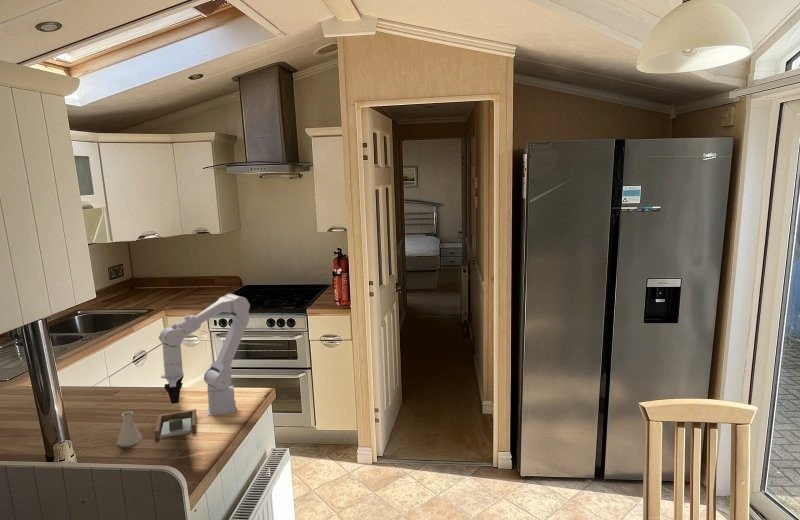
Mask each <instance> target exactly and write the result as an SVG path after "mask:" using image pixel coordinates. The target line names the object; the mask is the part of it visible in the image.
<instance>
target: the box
mask: <svg viewBox="0 0 800 520" xmlns="http://www.w3.org/2000/svg"><path fill="white" fill-rule="evenodd" d="M197 416H198V415H197V408H195V409H189V410H182V411H175V412H168V413H162V414H158V415H157V419H156V423H155V428H154V438H155V439H154V440H160V439H161V440H162V439H167V438H173V437H178V436H180V437H181V436H184V435H190V434H196V433H197V418H198V417H197ZM179 418H182V419H186V418H191V433H187V434H181V435H175V436H169V437H163V438H161V432H162V427H163V422H167V421H169V420H173V419H179Z"/></svg>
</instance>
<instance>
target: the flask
mask: <svg viewBox="0 0 800 520" xmlns="http://www.w3.org/2000/svg"><path fill="white" fill-rule="evenodd" d="M133 414H134V412H133V411H125V412H122V414H121V417H122V425H121V429H120V432H119V436H118V438H117V442H116V443H115V445H117V446H119V447H123V448H124V447H132V446H134V445H136V444H138V443H140V442H141V441H142V439H143V437H142V435H141V433H140V431H139V429H138V428H137V426H136V424H135V421H134V419H133Z"/></svg>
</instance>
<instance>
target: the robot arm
mask: <svg viewBox="0 0 800 520" xmlns="http://www.w3.org/2000/svg"><path fill="white" fill-rule="evenodd" d="M250 307H251V304H250V302H249V300H248V299H247V298H246V297H244V296H240V295H236V294H235V293H227V294H225V295H223V296H220V297H219V298H218V299H217V301H215V302H214V303H212V304H211V305H209V306H208V307H207V308H205V309H203V310H202V311H200V312H199V313H197V314H196V315H194V314H190V315H185V316H184V317H183V319H182V320H180V321H178V322H177V323H172V324H171V327H170V326H169V327H168V326H166V327H165V328H162V330H161V332H160V334H159V336H158V339H159V341H160V342H161V344H162V356H163V357H162V358H163V368H164V371H163V372H164V374H161V375H160V378H161V379H165V380H166V382H168V383H165V384H164V389H165V391H166V392H167V393H168V396H169V399H170V403H171V404H173V405H174V404H179V401H180V395H181V389H182V387H183V382H182V381H183V378H184V374H185V373H184V372H183V357H182V355H183V354H182V346H181V344H182V343H183V341H184V339H186V338H187V337H188V336H190V335H192V334H193V333H195V332H197V330H199V329H201V326H202V323H205V322H206V321H208V320H210V319H211V318H213V317H215V316H216V315H219V314H221V313H228V314H229V316H230V318H231V320H232V322H231V323H230V327H229V329H228V332H227V334H226V336H225V338H224V342H223V344H222V346H221V348H220V350H219V353H218V356H217V358H216V360H215V361H214V362H212V363H210V366H209V367H208V369H207V370H206V371H205V372H204V375H203V380H204V382H205V384H207V401H208V402H207V403H208V406H207V416H208V417H211V416H216V415H222V414H223V415H224V414H229V413H230V414H231V413H235V412H236V400H235V389H234V388H235V387H234V385H230V384H231V383H232V374H233V369H232V364H233V360H234V358H235V355H236V353H237V351H238V348H239V346H240V343H241V341H242V339H243V336H244V333H245V330H246V329H247V326H248V324H249V320H250V317H249V315H250V312H249V311H250Z"/></svg>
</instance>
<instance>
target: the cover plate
mask: <svg viewBox="0 0 800 520" xmlns="http://www.w3.org/2000/svg"><path fill="white" fill-rule="evenodd" d="M187 433H191V418H186V419H182V418H179V419H173V420H169V421H167V422H163V427H162V432H161V438H162V439H164V438H163V437H168V438H170V437H169V436H174V437H176V436H175V435H180V436H182V435H181V434H185V435H188V434H187ZM191 434H192V433H191Z"/></svg>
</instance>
